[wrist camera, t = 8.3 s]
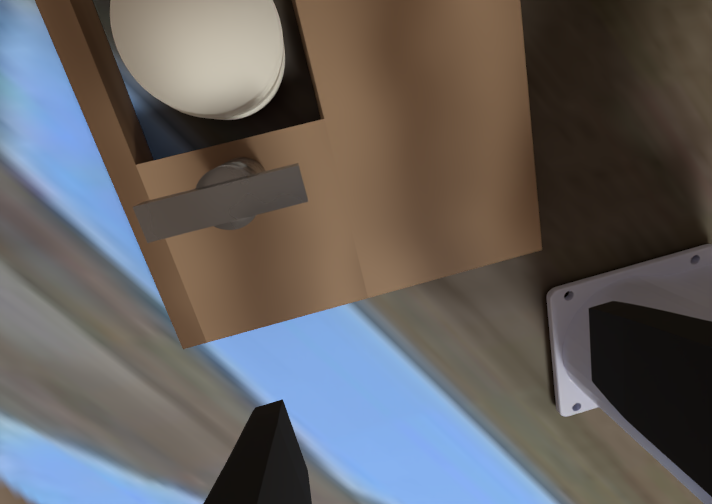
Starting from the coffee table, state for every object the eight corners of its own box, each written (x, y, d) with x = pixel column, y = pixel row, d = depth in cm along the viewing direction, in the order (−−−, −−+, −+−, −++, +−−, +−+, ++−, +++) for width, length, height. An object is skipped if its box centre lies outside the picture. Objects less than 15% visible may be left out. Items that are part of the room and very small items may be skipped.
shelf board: (481, -106, 15) (507, -138, 14) (518, 238, 20) (542, 249, 18) (56, -15, 14) (19, -36, 13) (194, 326, 19) (183, 349, 17)
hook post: (294, 143, 15) (294, 150, 11) (307, 190, 16) (312, 215, 11) (177, 172, 15) (126, 191, 10) (195, 218, 15) (153, 256, 11)
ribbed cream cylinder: (264, -22, 15) (251, -89, 11) (299, 104, 17) (301, 95, 12) (143, 7, 15) (74, -48, 10) (189, 133, 16) (147, 135, 12)
